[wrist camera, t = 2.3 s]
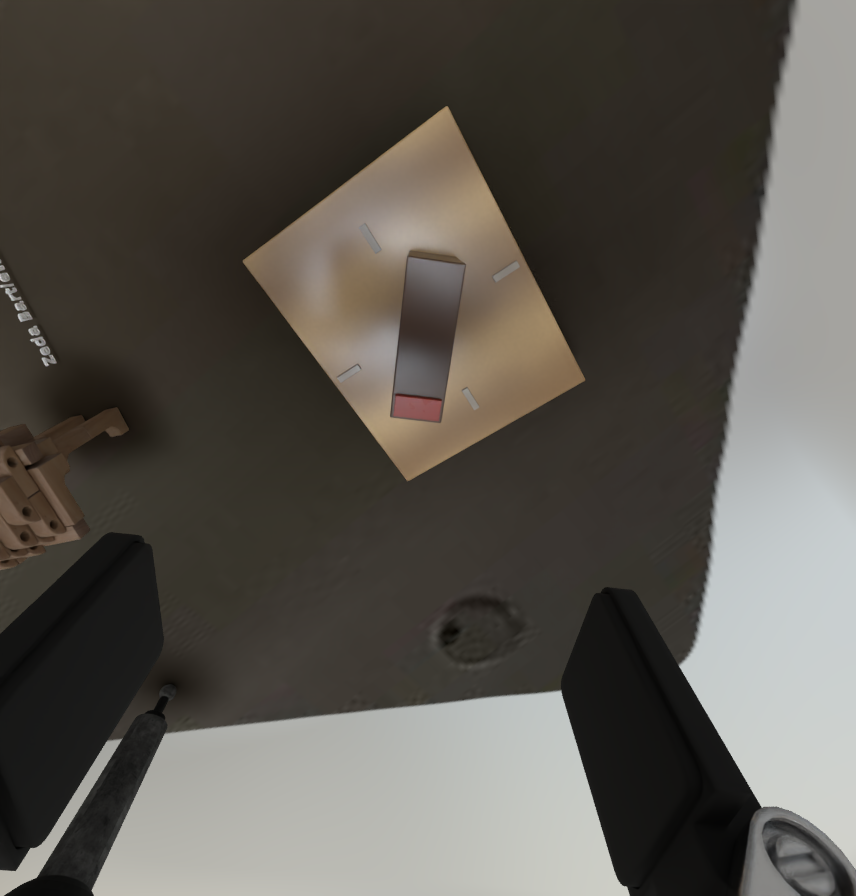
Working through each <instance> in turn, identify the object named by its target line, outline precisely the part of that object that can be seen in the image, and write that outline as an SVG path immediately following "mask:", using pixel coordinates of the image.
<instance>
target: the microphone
mask: <svg viewBox="0 0 856 896" xmlns="http://www.w3.org/2000/svg"><path fill="white" fill-rule="evenodd" d="M175 695H176V687H175V686H174V685H172V684H168V685H165V686H164V687H163V688H162V689H161V690H160V692H159V697H160V699H159V701H158V703H157V705H156V707H155V708H154V710H150V711H147V712H146V713H145V714H141V715H139V716H137V717H136V718H135V720H134V721H133V723H132V725H131V726H130V728H129V729H128V731H127V733H126V734H125V736H124V738H123V739H122V741H121V742H120V744H119V746H118V747H117V749H116V751H115V752H114V754H113V755H112V757H111V759H110V760H109V762H108V764H107V765H106V767H105V768H104V770H103V772H102V773H101V775H100V776H99V778H98V780H97V781H96V783H95V785H94V786H93V788H92V789H91V791H90V793H89V794H88V796H87V797H86V799H85V801H84V802H83V804H82V806H81V807H80V809H79V810H78V812H77V814H76V815H75V817H74V819H73V820H72V822H71V823H70V825H69V827H68V828H67V830H66V831H65V833H64V835H63V836H62V838H61V840H60V841H59V843H58V844H57V846H56V848H55V849H54V851H53V853H52V854H51V856H50V857H49V859H48V861H47V862H46V864H45V865H44V867H43V869H42V870H41V872H40V874H39V875H38V877H37V878H35V879H33V880H31V881H28V882H26V883H24V884H22V885H20V886H18V887H17V888H15V889H14V890H12V891H11V892H9V893H7V894H6V895H4V896H94V895H93V893H92V891H91V890H92V888H93V886H94V884H95V881H96V880H97V877H98V875H99V873H100V871H101V869H102V866H103V865H104V862H105V860H106V858H107V856H108V854H109V852H110V850H111V847H112V845H113V843H114V841H115V839H116V837H117V834H118V832H119V830H120V828H121V826H122V823H123V822H124V819H125V817H126V815H127V813H128V811H129V809H130V806H131V804H132V802H133V800H134V798H135V796H136V794H137V792H138V789H139V787H140V785H141V783H142V781H143V779H144V776H145V774H146V772H147V770H148V768H149V766H150V764H151V762H152V759H153V757H154V755H155V753H156V751H157V749H158V747H159V744H160V742H161V740H162V738H163V736H164V734H165V732H166V729H167V723H166V721H165V716H164V714H163V713H162V712H163V710H164V708H165V706H166V704H167V702H168V701H169V700H171V699H173V698H174V696H175Z"/></svg>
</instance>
